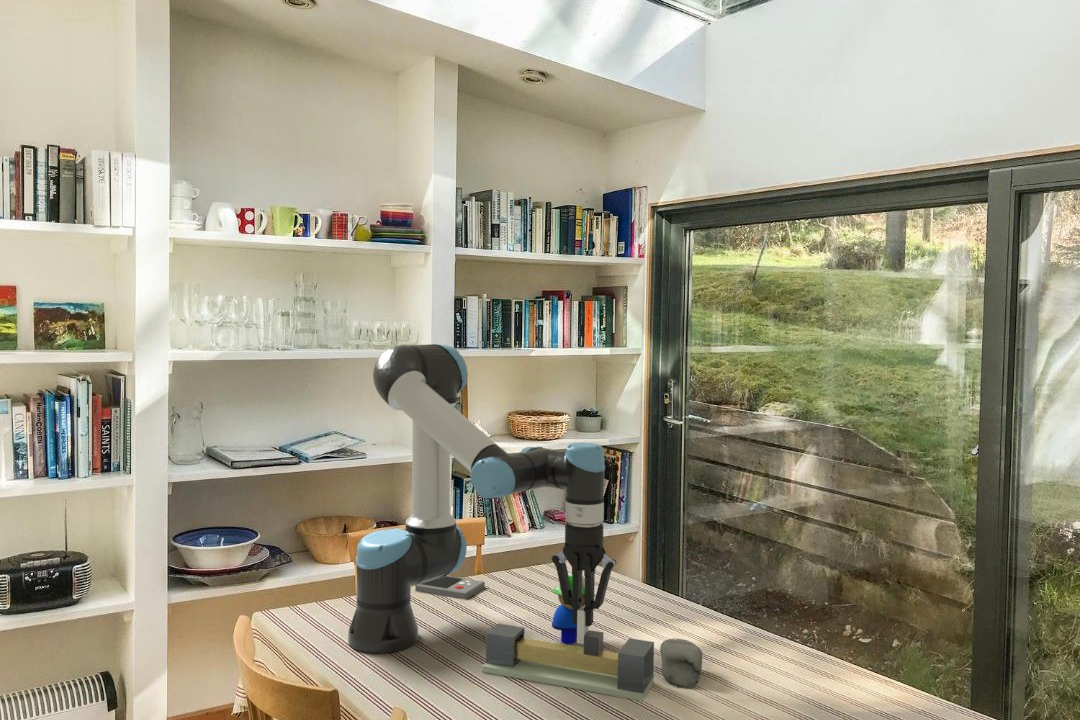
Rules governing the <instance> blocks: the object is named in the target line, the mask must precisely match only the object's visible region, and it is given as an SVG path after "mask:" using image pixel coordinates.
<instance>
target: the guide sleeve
mask: <svg viewBox="0 0 1080 720" xmlns="http://www.w3.org/2000/svg"><path fill="white" fill-rule="evenodd" d="M518 637H522V638H525V627H522V626H515V625H510V624H509V625H508V624H503V623H497V624H495V625H494V626H492V628H490V629H489V630H488V631H487V632H486V633H485V663H488V664H494V665H500V666H505V667H511V668H513V667H514V666H515V665H516V664H518V663H519V662H520V661H521V659H515V640H516V639H517V638H518Z"/></svg>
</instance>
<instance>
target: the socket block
mask: <svg viewBox="0 0 1080 720" xmlns="http://www.w3.org/2000/svg"><path fill="white" fill-rule="evenodd" d="M617 653H618V685H617V689H620V690H626V691H631V692H637V693H642V694H643V693H644V691H645V690H646V688H647V686H648V685H649V683H650V682H651V680H652V678H653V676H654V670H655V669H654V666H655V665H654V661H655V660H654V659H655V658H654V657H655V654H654V653H655V641H650V640H645V639H636V638H631V637H629V638H628V640H626V642H625V643H624V644H623V646H622V647H621V648H620V650H619V651H618V652H617Z"/></svg>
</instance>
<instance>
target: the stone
mask: <svg viewBox="0 0 1080 720" xmlns="http://www.w3.org/2000/svg"><path fill="white" fill-rule="evenodd" d="M659 650H660V651H659V652H660V657H661V673H662V676H663V679H664V680H665V681H666V682H667V683H668V685H672V686H674V687H676V688H678V689H679V688H682V689H693V688H694V687H695V686H697V684H698V682H699V681H700V677H701V673H702V667H703V651H702V650H701V648H700V647H698V645H696V644H695V643H694V642H692V641H690V640H687V639H683V638H676V637H675V638H667V639H665V640H663V641H662V642H661V644H660V649H659Z"/></svg>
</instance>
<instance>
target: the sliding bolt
mask: <svg viewBox="0 0 1080 720" xmlns="http://www.w3.org/2000/svg"><path fill="white" fill-rule="evenodd" d="M604 633H605V632H603V631H597V630H590V629H589V631H588V632H587V633H586V634H585V635H584V644H583V646H576V645H572V644H565V643H557V642H551V641H545V640H541V639H540V640H539V639H533V638H527V637H524V638H522V637H518V638H517V639H516V640H515V659H521V660H526V661H532V662H538V663H544V664H550V665H555V666H561V667H567V668H573V669H578V670H584V671H590V672H596V673H602V674H607V675H613V676H618V652H614V651H613V652H612V651H607V650H604Z"/></svg>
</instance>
